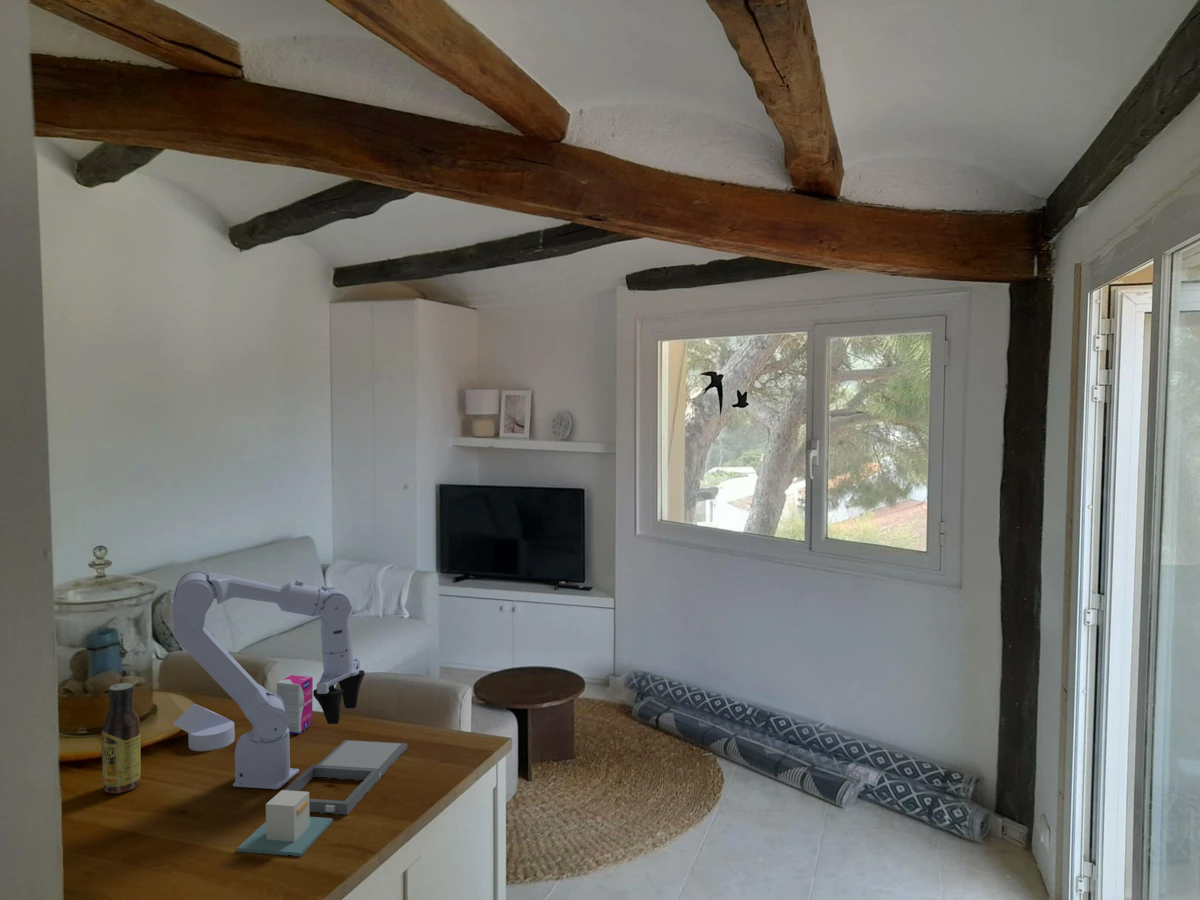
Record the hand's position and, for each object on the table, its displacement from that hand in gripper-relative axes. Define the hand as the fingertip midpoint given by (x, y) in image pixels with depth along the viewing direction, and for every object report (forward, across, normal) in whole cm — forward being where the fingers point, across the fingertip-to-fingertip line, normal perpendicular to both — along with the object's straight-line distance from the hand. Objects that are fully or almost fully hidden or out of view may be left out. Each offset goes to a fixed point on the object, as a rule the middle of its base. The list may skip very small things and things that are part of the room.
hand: (342, 715), depth 159 cm
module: (+9, -27, -3) cm, 29 cm away
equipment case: (+10, -5, -2) cm, 12 cm away
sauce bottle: (+8, -16, +38) cm, 41 cm away
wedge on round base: (+9, +8, +36) cm, 38 cm away
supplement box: (+10, +16, +20) cm, 27 cm away
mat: (+10, -27, -3) cm, 29 cm away
